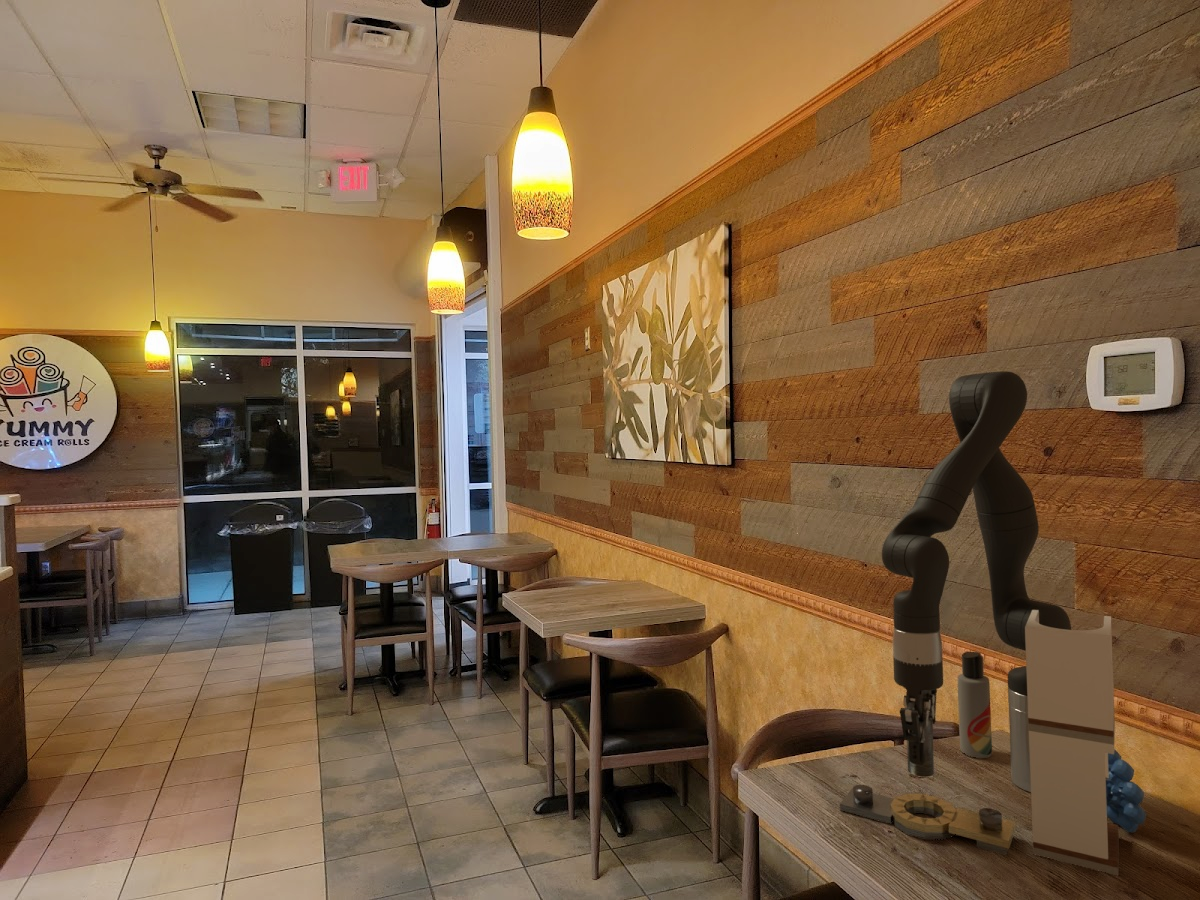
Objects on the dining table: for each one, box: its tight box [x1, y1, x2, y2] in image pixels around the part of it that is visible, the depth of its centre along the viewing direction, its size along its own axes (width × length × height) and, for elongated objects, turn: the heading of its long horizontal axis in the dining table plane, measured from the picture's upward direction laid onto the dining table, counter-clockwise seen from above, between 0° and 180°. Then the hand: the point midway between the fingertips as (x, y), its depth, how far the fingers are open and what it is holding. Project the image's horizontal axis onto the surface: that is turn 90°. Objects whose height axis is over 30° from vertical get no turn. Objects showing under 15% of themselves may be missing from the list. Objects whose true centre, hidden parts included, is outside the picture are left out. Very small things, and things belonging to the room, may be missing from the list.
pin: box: [906, 715, 935, 778], centre depth 123 cm, size 4×4×9 cm
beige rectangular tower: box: [1025, 610, 1120, 877], centre depth 115 cm, size 11×11×35 cm
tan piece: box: [839, 784, 1017, 856], centre depth 124 cm, size 10×26×4 cm, turn 53°
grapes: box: [1106, 748, 1147, 834], centre depth 120 cm, size 12×7×12 cm, turn 178°
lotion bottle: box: [956, 651, 993, 759], centre depth 148 cm, size 6×6×20 cm
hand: (920, 757), depth 123 cm, fingers closed on pin, 4 cm apart
